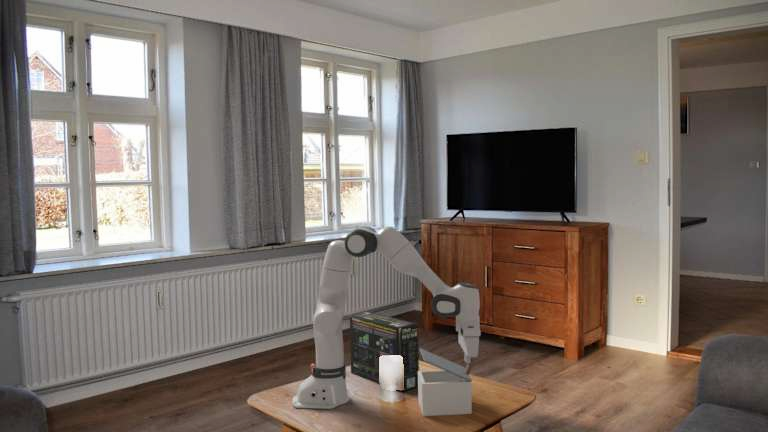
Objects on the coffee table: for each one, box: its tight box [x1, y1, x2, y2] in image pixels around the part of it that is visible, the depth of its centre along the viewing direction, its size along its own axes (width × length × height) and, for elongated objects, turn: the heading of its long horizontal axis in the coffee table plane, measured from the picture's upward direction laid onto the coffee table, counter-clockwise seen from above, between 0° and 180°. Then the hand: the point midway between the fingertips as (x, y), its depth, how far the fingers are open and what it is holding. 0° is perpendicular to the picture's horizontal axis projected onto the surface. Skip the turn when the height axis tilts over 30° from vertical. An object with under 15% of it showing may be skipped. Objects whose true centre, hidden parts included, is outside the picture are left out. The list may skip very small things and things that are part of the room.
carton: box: [417, 369, 473, 417], centre depth 235 cm, size 18×15×12 cm
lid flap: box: [419, 347, 478, 383], centre depth 234 cm, size 19×16×9 cm
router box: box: [348, 311, 420, 391], centre depth 268 cm, size 36×11×27 cm, turn 39°
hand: (467, 362), depth 235 cm, fingers closed, pressing on lid flap
